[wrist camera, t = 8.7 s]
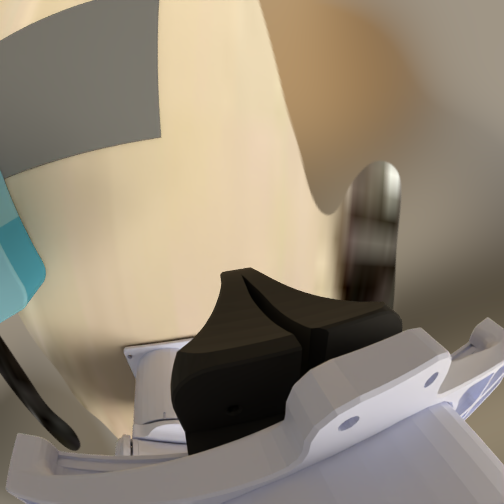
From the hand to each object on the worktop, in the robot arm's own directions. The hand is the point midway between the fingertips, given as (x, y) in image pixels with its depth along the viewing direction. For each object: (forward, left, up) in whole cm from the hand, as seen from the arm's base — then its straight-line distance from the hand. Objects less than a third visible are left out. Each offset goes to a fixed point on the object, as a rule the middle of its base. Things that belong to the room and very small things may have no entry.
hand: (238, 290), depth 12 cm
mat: (+14, +14, -10) cm, 23 cm away
